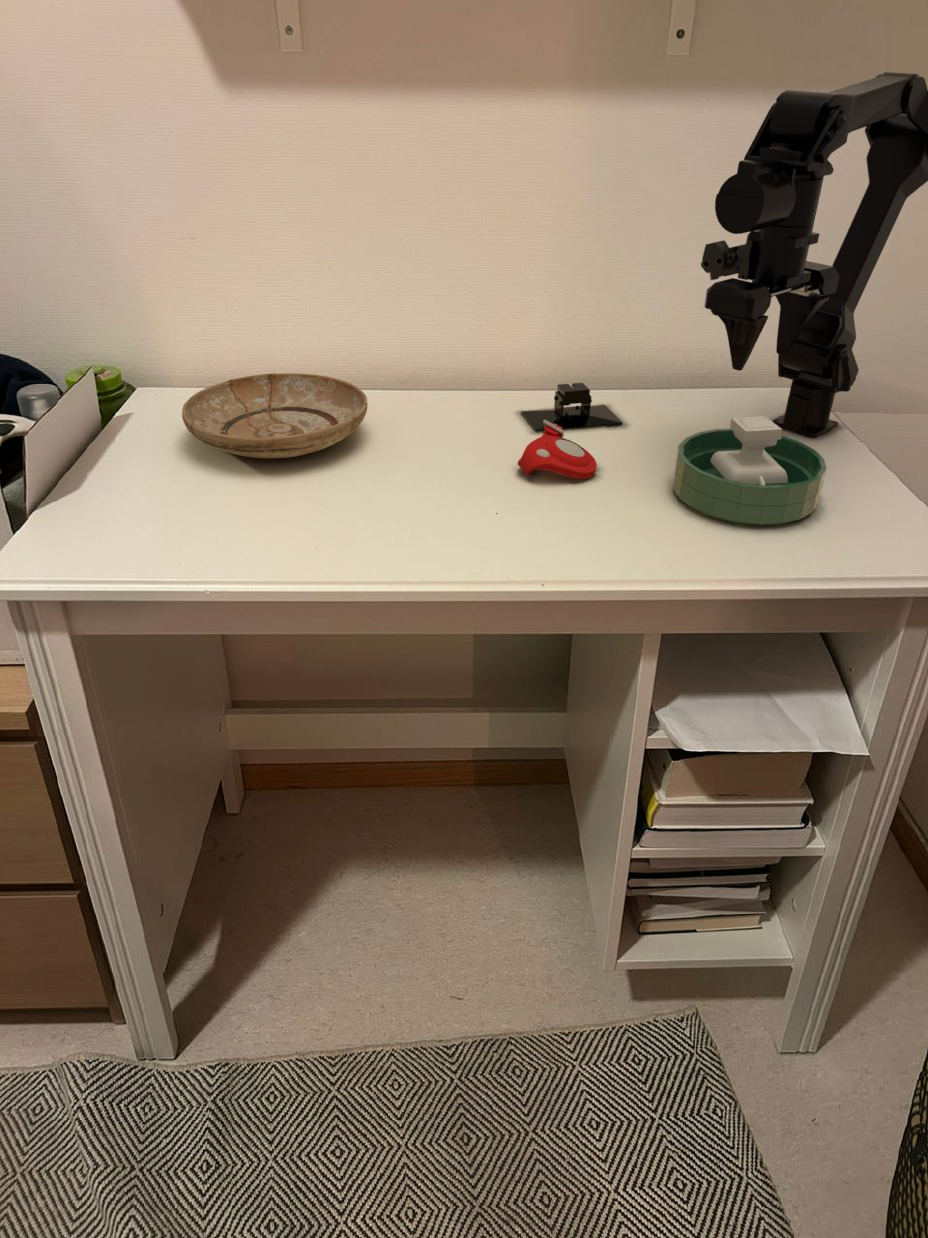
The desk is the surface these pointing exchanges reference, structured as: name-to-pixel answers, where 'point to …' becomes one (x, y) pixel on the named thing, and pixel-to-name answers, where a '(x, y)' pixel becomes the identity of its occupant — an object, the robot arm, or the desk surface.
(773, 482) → the stamp
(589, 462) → the tracker holder
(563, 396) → the build plate
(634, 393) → the desk surface
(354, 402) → the ceramic bowl
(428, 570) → the desk surface
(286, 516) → the desk surface
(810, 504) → the green bowl
